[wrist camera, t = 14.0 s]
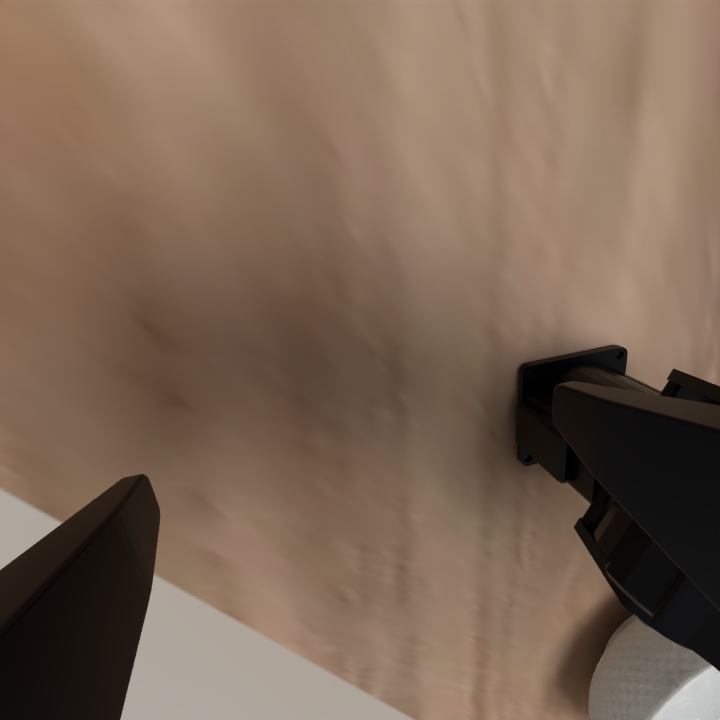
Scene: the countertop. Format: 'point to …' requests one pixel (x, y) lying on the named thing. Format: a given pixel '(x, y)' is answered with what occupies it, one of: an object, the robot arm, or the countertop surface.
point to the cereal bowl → (652, 679)
